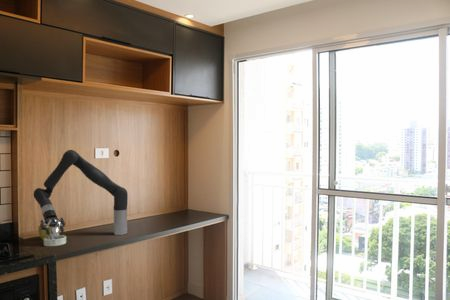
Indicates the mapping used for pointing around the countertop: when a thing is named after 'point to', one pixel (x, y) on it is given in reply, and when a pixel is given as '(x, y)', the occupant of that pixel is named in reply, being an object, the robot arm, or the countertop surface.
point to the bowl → (55, 241)
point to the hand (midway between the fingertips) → (55, 232)
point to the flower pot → (43, 232)
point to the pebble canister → (54, 232)
